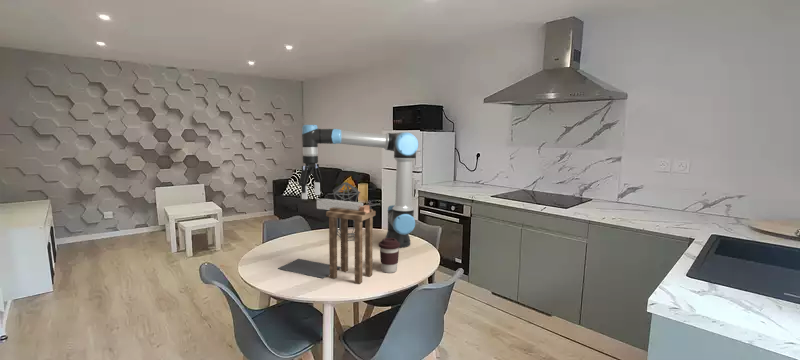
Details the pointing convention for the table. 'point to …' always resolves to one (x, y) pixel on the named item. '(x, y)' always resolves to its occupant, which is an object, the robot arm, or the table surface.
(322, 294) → the table surface
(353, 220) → the geometric lantern
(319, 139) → the robot arm
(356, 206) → the bar
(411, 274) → the table surface
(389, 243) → the coffee cup
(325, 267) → the mat
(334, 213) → the stand
